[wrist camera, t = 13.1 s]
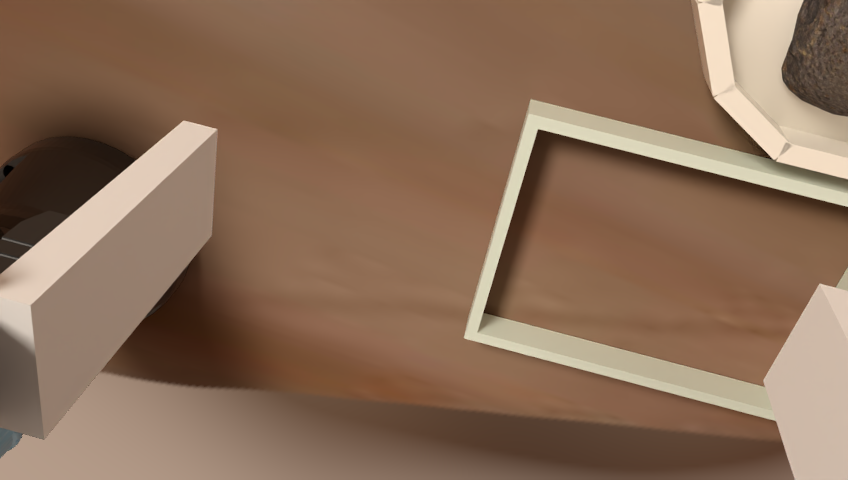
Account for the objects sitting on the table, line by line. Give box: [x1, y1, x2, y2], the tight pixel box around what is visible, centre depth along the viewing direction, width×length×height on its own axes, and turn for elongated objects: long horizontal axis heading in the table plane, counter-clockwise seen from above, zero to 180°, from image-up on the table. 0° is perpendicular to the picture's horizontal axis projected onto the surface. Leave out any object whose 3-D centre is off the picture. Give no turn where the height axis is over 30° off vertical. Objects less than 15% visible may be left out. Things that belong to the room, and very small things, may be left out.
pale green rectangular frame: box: [464, 99, 848, 421], centre depth 51 cm, size 24×18×2 cm
